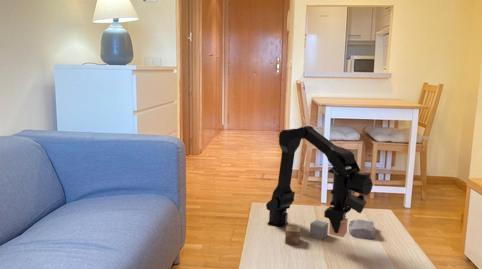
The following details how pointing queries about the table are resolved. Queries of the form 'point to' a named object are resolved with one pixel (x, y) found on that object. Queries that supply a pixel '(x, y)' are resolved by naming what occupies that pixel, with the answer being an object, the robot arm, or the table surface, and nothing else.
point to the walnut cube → (292, 235)
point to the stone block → (362, 229)
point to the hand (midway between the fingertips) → (338, 230)
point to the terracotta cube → (342, 228)
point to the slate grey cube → (319, 229)
